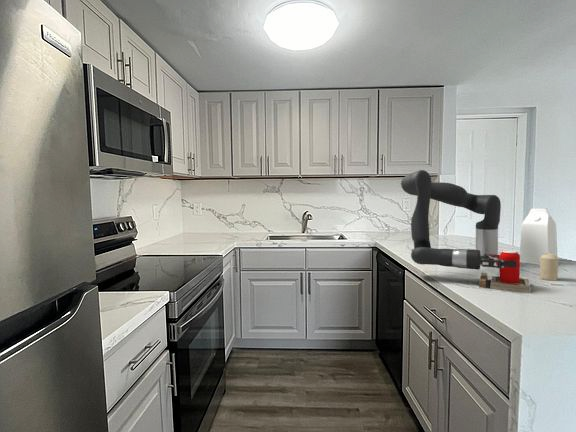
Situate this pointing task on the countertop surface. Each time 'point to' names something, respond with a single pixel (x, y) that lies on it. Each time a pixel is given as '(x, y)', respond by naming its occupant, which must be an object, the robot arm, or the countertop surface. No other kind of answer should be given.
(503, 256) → the beverage can
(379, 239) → the countertop surface
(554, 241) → the milk
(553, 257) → the candle
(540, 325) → the countertop surface
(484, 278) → the sill
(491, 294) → the countertop surface
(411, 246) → the hinge
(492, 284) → the tray
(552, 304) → the countertop surface
